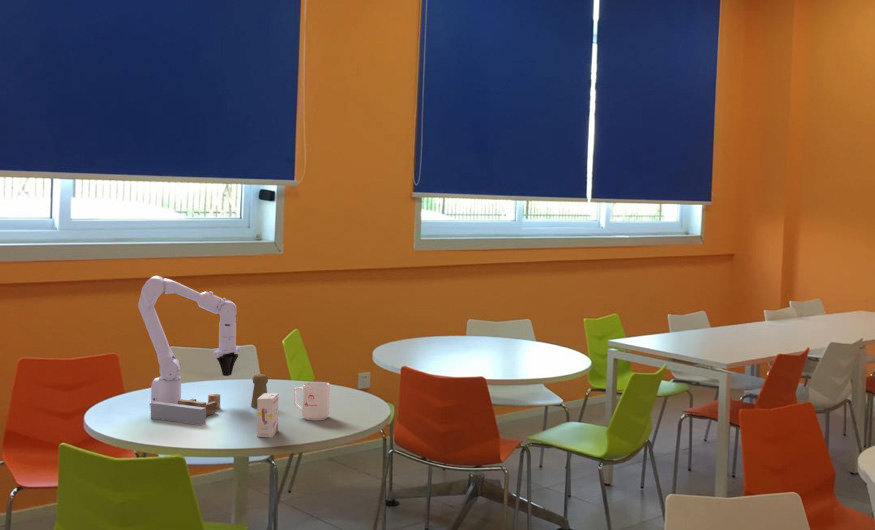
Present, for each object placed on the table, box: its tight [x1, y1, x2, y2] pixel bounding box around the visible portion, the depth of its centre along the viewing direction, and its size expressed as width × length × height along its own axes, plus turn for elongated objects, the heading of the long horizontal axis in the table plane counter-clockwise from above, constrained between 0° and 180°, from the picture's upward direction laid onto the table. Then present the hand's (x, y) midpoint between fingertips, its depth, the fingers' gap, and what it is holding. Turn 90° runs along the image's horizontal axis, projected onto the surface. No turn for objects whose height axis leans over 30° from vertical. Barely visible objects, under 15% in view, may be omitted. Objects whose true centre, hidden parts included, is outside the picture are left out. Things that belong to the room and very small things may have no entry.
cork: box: [250, 373, 269, 409], centre depth 308 cm, size 6×6×11 cm
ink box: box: [256, 392, 279, 438], centre depth 273 cm, size 9×5×12 cm, turn 177°
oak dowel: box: [207, 393, 221, 410], centre depth 303 cm, size 4×4×4 cm
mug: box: [293, 381, 331, 422], centre depth 294 cm, size 12×9×11 cm
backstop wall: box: [150, 401, 207, 426], centre depth 285 cm, size 19×2×5 cm, turn 70°
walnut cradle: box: [178, 398, 218, 417], centre depth 294 cm, size 10×8×4 cm
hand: (227, 375), depth 310 cm, fingers closed
